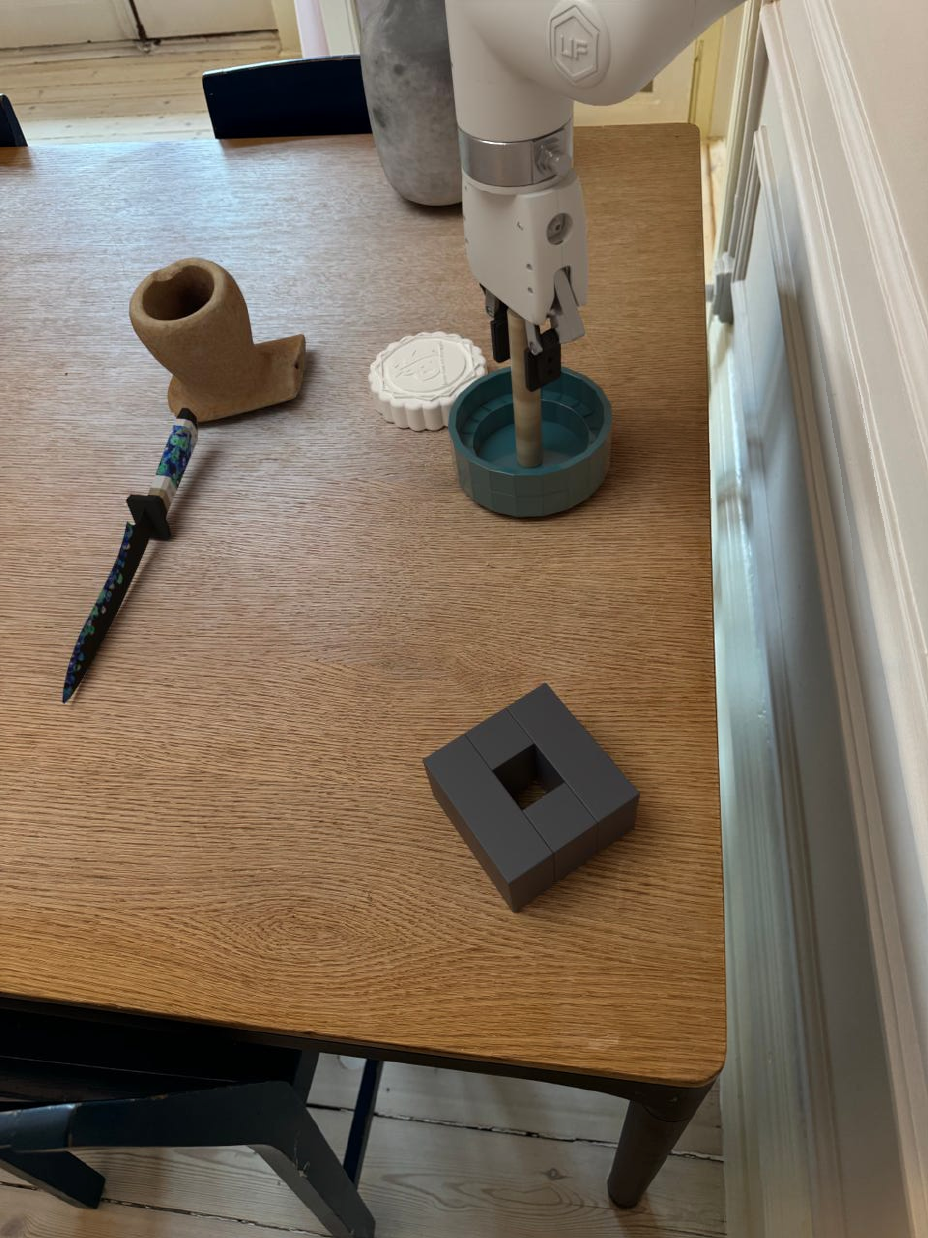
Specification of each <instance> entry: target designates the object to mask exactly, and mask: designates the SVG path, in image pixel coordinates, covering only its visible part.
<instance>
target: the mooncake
mask: <svg viewBox="0 0 928 1238" xmlns="http://www.w3.org/2000/svg"><path fill="white" fill-rule="evenodd" d="M369 371H370V373H369V374H368V375H367V381H368V385H369V389H370V395H371V397H372V401H373V403H374V408H375V410H376V412H377V413H379V414H380V415H382V418H383V419H384V420H385V421H386V422H388V423H394V424H395V426H396V427H398V428H400V429H408V428H409V429H410V430H412V431H415V432H421V431H424V430H426V429H427V430H428V431H438V430H440V429H442V428H443V427H448V421H449V411H450V409H451V408H452V406H453V404H454V402H455V400H456V399H457V397H458V395H459V394H460V393H461V392H462V391H463V390H464V389H466V388H467V387H468V386H469V385H470V384H471V383H472V382H473V381H475V380H477V379H479V378H481V377H483V376H485V375H487V374H489V373H488V363H487V359H486V358H485V357H484V353H483V350H482V349H481V347H479V346H477V345H475V343H474V341H473V340H471V339H470V338H462V336H461V335H460V334H457V333H446V332H444V331H441V330H439V331H434V332H431V333H430V332H428V331H423V332H419V333H417V334H415V335H406V336H404V337H402V338H401V339H400V340H399V341H393V342H391V343H389V344H388V345H387V346H386V348H385V349H383V350H382V351H379V352H378V353H377V354H376V357H375V360H374V361H372V363H371V364H370V365H369Z"/></svg>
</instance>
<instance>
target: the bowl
mask: <svg viewBox="0 0 928 1238" xmlns="http://www.w3.org/2000/svg"><path fill="white" fill-rule="evenodd" d="M612 407H613V406H612V403H611V401H610V400H609V398H608V396H607V394H606V392H605V391H604V389H603V388H602V387H601V386H600V385H599V384H597V383H596V382H595V381H594V380H593V379H591V378H590V377H589V376H587V375H586V374H583V373H581V372H579V371H576V370H573V369H572V368H569V367H566V366H563V365H561V376H560V377H559V378H558V379H557V380H555V381H553V382H551V383H549V384H547V385H545V386H543V387H542V388H541V416H542V447H543V460H542V462H541V463H540V464H539V465H538V466H536V467H532V468H526V467H523V466H521V465H520V464H519V463H518V461H517V450H516V435H515V420H514V405H513V390H512V375H511V365H510V366H505V367H502V368H497V369H495V370H493V371H491V372H489V373H488V374H487V375H485V376H483V377H481V378H479V379H477V380H475V381H473V382H472V383H471V384H470V385H469V386H468V387H467V388H466V389H464V390H463V391H462V392H461V393H460V394H459V395H458V397H457V399H456V400H455V402H454V404H453V406H452V408H451V409H450V411H449V421H448V426H447V432H448V440H449V445H450V452H451V459H452V465H453V471H454V474H455V476H456V480H457V482H458V484H459V486H460V488H461V489H462V490H463V491H464V493H465V494H466V495H468V497H469V498H470V499H471V500H472V501H473V502H474V503H477V504H479V505H480V506H483V507H484V508H486V509H488V510H490V511H492V512H494V513H497V514H502V515H507V516H512V517H516V518H522V517H523V518H524V517H545V516H548V515H552V514H557V513H560V512H564V511H567V510H569V509H572V508H574V507H575V506H577V505H578V504H580V503H582V502H584V501H585V500H587V499H589V498H590V497H591V496H592V495H593V494H594V493H595V492H596V491H597V489H599V487H600V486H601V485H602V484H603V483H604V481H605V479H606V476H607V473H608V471H609V468H610V466H611V456H612V455H611V454H612V441H613V440H612V438H613V410H612V409H613V408H612Z"/></svg>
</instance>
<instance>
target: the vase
mask: <svg viewBox="0 0 928 1238" xmlns="http://www.w3.org/2000/svg"><path fill="white" fill-rule="evenodd" d="M359 54H360V66H361V76H362V81H363V88H364V94H365V95H364V96H365V99H366V107H367V111H368V117H369V121H370V126H371V130H372V136H373V140H374V143H375V148H376V152H377V156H378V159H379V163H380V166H381V168H382V172H383V173H384V176H385V178H386V180H387V182H388V183H389V185H390V186H391V187H392V189H393V190H394V191H395V192H396V193H397V194H398V195H400V196H401V197H403V198H405V199H406V200H408V201H410V202H412V203H416V204H420V205H425V206H432V207H433V206H435V207H437V206H449V205H454V204H459V203H463V202H462V176H463V175H462V167H461V156H460V146H459V136H458V126H457V117H456V107H455V97H454V87H453V77H452V67H451V57H450V47H449V37H448V27H447V17H446V7H445V0H384V1H382V2H381V3H380V4H378V5H377V6H376V7H374V8H373V9H372V10H371V12H370V13H369V14H368V15H367V16H366V18H365V20H364V22H363V25H362V27H361V31H360V39H359Z"/></svg>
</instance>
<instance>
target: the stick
mask: <svg viewBox="0 0 928 1238" xmlns="http://www.w3.org/2000/svg"><path fill="white" fill-rule="evenodd" d="M507 315H508V330H509V345H510V359H509V360H510V366H511V375H512V390H513V405H514V420H515V435H516V450H517V461H518V463H519V464H520V465H521V466H523V467H526V468H532V467H536V466H538V465H539V464H540V463H541V462H542V460H543V447H542V416H541V388H540V389H538V390H536V391H534V392H530V391H529V390H528V389H527V388H526V383H525V363H524V350H525V349H526V348H527V347H529V344H528V338H527V332H526V325H525V319H524V318H523V317H521V316H520V315H519V314H517V313H516V312H515V311H514V310H512V309H511V308H510V307H509V308H508V310H507Z"/></svg>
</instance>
